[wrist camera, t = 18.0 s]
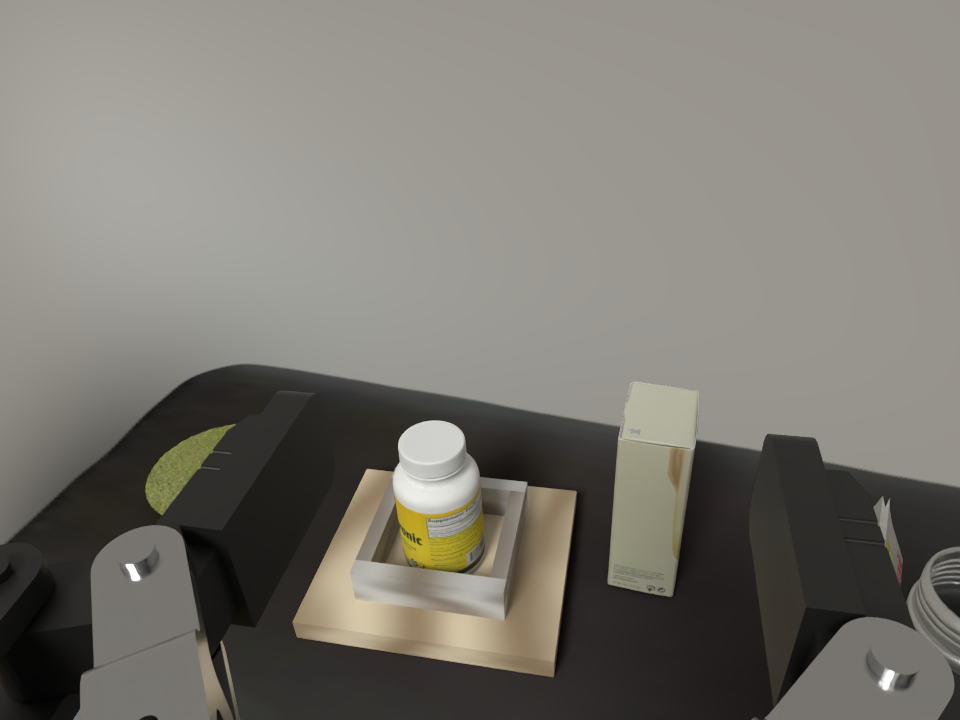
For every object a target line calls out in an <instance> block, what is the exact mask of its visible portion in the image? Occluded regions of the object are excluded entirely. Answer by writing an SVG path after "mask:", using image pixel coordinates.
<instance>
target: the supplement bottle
mask: <svg viewBox="0 0 960 720" xmlns="http://www.w3.org/2000/svg"><path fill="white" fill-rule="evenodd" d="M398 450H399V457H400V463H399V464H398V466H397V467H396V469H395V472H394V475H393V491H394V497H395V503H396V508H397V515H398V521H399V527H400V533H401V538H402V545H403V551H404V556H405V560H406V562H407V565H408V566H409V567H415V568H423V569H430V570H438V571H446V572H453V573H461V574H469V575H470V574H471V573H472V572H474V571H475V570H476V569H477V567H478V566H479V565H480V563H481V561H482V559H483V557H484V553H485V535H484V522H483V511H482V496H481V481H480V474H479V469H478V466H477V464H476V462H475V461H474V459H473V458H472V457H471V456H470V455H469V454H468V453H466V443H465V437H464V434H463V432H462V431H461V430H460V429H459V428H458V427H457V426H455V425H453V424H451V423H448V422H444V421H426V422H421V423H419V424H416V425H414V426H412V427H410V428H409V429H407V430H406V431H405V432H404V433H403V434H402V436H401V437H400V440H399V443H398Z"/></svg>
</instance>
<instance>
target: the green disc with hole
mask: <svg viewBox="0 0 960 720" xmlns="http://www.w3.org/2000/svg"><path fill="white" fill-rule="evenodd" d="M235 425H236V424H233V425H229V426H227V425H226V426H224V427H219V428H214V429H210V430H208V431H206V432H202V433H200V434H198V435H195V436H192V437H190V438H188V439H187V440H185V441H182V442H181V443H179V444H178V445H177V446H175V447H173V448H172V449H171V450H170V451H168V452H167V453H166V454H165V455H163V457H161V458H160V460H159V461H158V462H157V464H155V466H154V467H153V469H152V470H151V473H150V474H149V476H148V480H147V483H146V491H145V492H146V497H147V500H148V501H149V503H150V505H151V506H152V507H153V508H154V509H155V510H156V511H157V512H159V513H160V514H161V515H163V513H164V512H165V511H166V510H167V508H168V507H169V506H170V504H171V503H172V502H173V500H174V499H175V498H176V497H177V495H178V494H179V493H180V491H181V490H182V489H183V488H184V486H185V485H186V484H187V482H188V481H189V480H190V478H191V477H192V476H193V475H194V473H195V472H196V471H197V469H201V464H202V463H203V462H204V460H205V459H206V458H207V456H208V455H209V454H210V453H213V449H214V447H215V446H216V445H217V443H218V442H219V441H220V440H221V438H222V437H223V436H224V434H225V433H226V432H227V431H228V430H229V429H230V428H232V427H233V426H235Z"/></svg>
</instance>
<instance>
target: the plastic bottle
mask: <svg viewBox="0 0 960 720" xmlns="http://www.w3.org/2000/svg"><path fill="white" fill-rule="evenodd" d="M906 604H907V607H908V610H909V613H910V616H911V619H912V622H913V625H914V627H915V629H916V631H917V632H918V633H920V634H921V635H923V636H924V637H925V638H927V639H928V640H929V641H930V642H931V643H933V644H934V645H935V646H936V648H937V649H938V650H939V651H940V652H941V653H942V655H943V656H944V657H945V659H946V660H947V662H948V664H949V666H950V668H951V670H953V671H954V672H956V673H957V674H959V675H960V547H952V548H948V549H944V550H942V551H940V552H938V553H936V554H935V555H934V556H933V557H932V558H931V559H930V560H929V561H928V562H927V564H926V566H925V568H924V570H923V572H922V575H921V577H920V579H919V580H918V581H917V582H916V583H915V584H914V585H913V587H912V589H911V591H910V593H909V595H908V598H907V601H906Z"/></svg>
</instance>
